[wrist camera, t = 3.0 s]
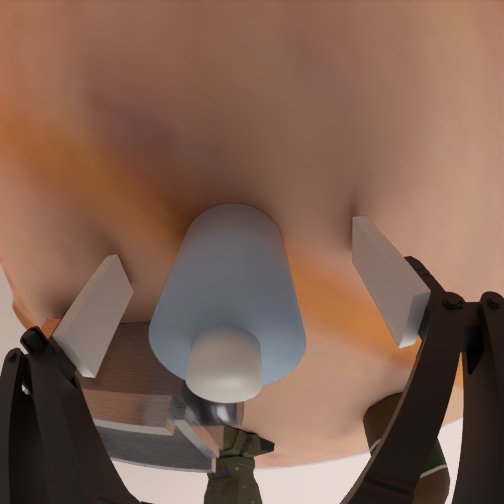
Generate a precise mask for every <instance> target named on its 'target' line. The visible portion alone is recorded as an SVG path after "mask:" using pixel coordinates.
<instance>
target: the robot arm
mask: <svg viewBox="0 0 504 504" xmlns="http://www.w3.org/2000/svg"><path fill="white" fill-rule="evenodd" d="M352 263H353V264H354V266H355V268H356V270H357V271H358V273H359V275H360V276H361V278H362V280H363V282H364V284H365V285H366V287H367V289H368V291H369V292H370V294H371V296H372V298H373V300H374V302H375V303H376V305H377V307H378V309H379V311H380V313H381V315H382V316H383V318H384V320H385V322H386V324H387V326H388V328H389V330H390V332H391V334H392V336H393V338H394V340H395V342H396V344H397V346H398V348H403V347H406V346H409V345H413V344H415V342H416V339H417V336H418V334H419V336H420V338H421V339H422V343H421V346H420V348H419V351H418V353H417V356H416V360H415V363H414V366H413V369H412V371H411V374H410V377H409V379H408V382H407V384H406V387H405V389H404V392H403V394H402V396H401V399H400V401H399V403H398V406H397V408H396V410H395V412H394V414H393V416H392V418H391V421H390V423H389V425H388V427H387V429H386V431H385V433H384V434H383V436H382V438H381V440H380V442H379V444H378V446H377V448H376V449H375V451H374V453H373V455H372V456H371V458H370V460H369V461H368V463H367V465H366V467H365V468H364V470H363V471H362V473H361V475H360V476H359V478H358V479H357V481H356V482H355V484H354V485H353V487H352V488H351V489H350V491H349V492H348V494H347V495H346V496H345V497H344V499H343V500H342V501H341V503H340V504H412V503H413V500H414V490H415V487H416V485H417V483H418V481H419V479H420V477H421V475H422V472H423V470H424V468H425V466H426V464H427V461H428V459H429V457H430V454H431V452H432V450H433V447H434V444H435V442H436V439H437V437H438V434H439V431H440V428H441V425H442V422H443V419H444V416H445V413H446V410H447V406H448V403H449V400H450V396H451V392H452V388H453V384H454V380H455V376H456V371H457V367H458V362H459V357H460V352H461V353H462V365H463V389H464V409H463V432H462V444H461V454H460V462H459V468H458V474H457V480H456V485H455V490H454V495H453V499H452V504H504V298H503V297H502V296H501V295H500V294H498V293H496V292H491V291H489V292H485V293H483V294H482V296H481V299H480V301H479V302H465V301H464V299H463V298H462V297H461V296H459V295H458V294H456V293H453V292H446V291H445V290H444V289H443V288H442V287H441V285H440V284H439V283H438V282H437V281H436V279H435V278H434V277H433V276H432V275H431V274H430V272H429V271H428V270H427V269H425V267H424V265H423V264H422V263H421V262H420V261H419V260H417V259H415V258H414V257H412V256H408V257H403V256H402V255H401V254H400V253H399V251H398V250H397V249H396V248H395V247H394V246H393V245H392V243H391V242H390V241H389V240H388V239H387V238H386V237H385V236H384V235H383V233H382V232H381V231H380V230H379V229H378V228H377V227H376V226H375V225H374V224H373V223H372V222H371V221H370V220H369V218H368V217H367V216H358V217H353V234H352ZM133 293H134V291H133V289H132V287H131V285H130V283H129V280H128V278H127V276H126V274H125V271H124V269H123V267H122V264H121V262H120V259H119V257H118V255H117V254H116V255H110V256H107V257H106V258H105V259H104V261H103V262H102V263H101V265H100V266H99V267H98V269H97V270H96V271H95V273H94V274H93V275H92V277H91V278H90V279H89V281H88V282H87V284H86V285H85V286H84V288H83V289H82V291H81V292H80V293H79V295H78V296H77V298H76V299H75V301H74V302H73V304H72V305H71V306H70V307H69V308H68V309H67V311H66V312H65V314H64V315H63V318H61V320H60V321H59V323H58V324H57V326H56V328H55V329H54V331H53V332H52V334H51V336H50V337H49V339H47V338H46V336H45V335H44V333H43V332H42V331H41V329H40V328H39V327H38V326H34V327H31V328H29V329H28V330H27V331H26V332H25V333H24V334H23V336H22V337H21V339H20V343H21V344H22V345H23V346H24V348H25V349H26V350H27V352H28V353H29V354H25V355H24V353H23V352H22V351H21V350H20V348H14V349H12V350H10V351H9V352H8V354H7V355H6V357H5V360H4V364H3V368H2V372H1V376H0V504H152V503H147V502H142V501H141V503H140V502H139V501H138V500H137V499H136V498H135V497H134V496H133V495H132V494H131V493H130V492H129V491H128V490H127V488H126V487H125V485H124V483H123V482H122V480H121V478H120V476H119V474H118V473H117V471H116V469H115V467H114V465H113V463H112V461H111V459H110V457H109V455H108V453H107V451H106V449H105V447H104V444H103V442H102V440H101V438H100V436H99V433H98V431H97V429H96V426H95V424H94V421H93V419H92V416H91V414H90V411H89V408H88V406H87V403H86V400H85V397H84V394H83V391H82V388H81V385H80V382H79V379H78V377H77V376H76V375H75V372H76V370H77V369H78V371H79V372H80V373H81V374H82V375H83V376H84V377H92V378H95V377H96V375H97V372H98V370H99V367H100V365H101V363H102V360H103V358H104V356H105V353H106V351H107V349H108V346H109V344H110V342H111V340H112V337H113V335H114V333H115V331H116V329H117V327H118V324H119V322H120V320H121V318H122V316H123V314H124V312H125V310H126V308H127V306H128V304H129V301H130V299H131V297H132V295H133ZM22 385H23V386H24V387H25V388H26V389H27V390H28V394H26V393H25V392H24V391H23V390H22Z"/></svg>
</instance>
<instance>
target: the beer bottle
mask: <svg viewBox="0 0 504 504" xmlns="http://www.w3.org/2000/svg"><path fill="white" fill-rule="evenodd" d="M402 394H403V392H401V393H398V394H394V395H391V396H388V397H387V398H385V399H383V400H382V401H380V402H378V403H377V404H375V405H373V406H372V407H370V408H369V410H368V411H367V413H366V415H365V417H364V419H363V423H364V429H365V434H366V438H367V442H368V446H369V450H370V454H371V456H372V455H373V453H374V451H375V449H376V448H377V446H378V444H379V442H380V440H381V438H382V436H383V434H384V433H385V431H386V429H387V427H388V425H389V423H390V421H391V418H392V416H393V414H394V412H395V410H396V408H397V406H398V403H399V401H400V399H401V396H402ZM449 486H450V477H449V472H448V468H447V464H446V461H445V458H444V455H443V452H442V449H441V446H440V443H439V441H438V438H437V439H436V442H435V444H434V447H433V450H432V452H431V454H430V457H429V459H428V461H427V464H426V466H425V468H424V470H423V472H422V475H421V477H420V479H419V481H418V483H417V485H416V487H415V490H414V500H413V503H412V504H445V501H446V499H447V496H448V494H449Z"/></svg>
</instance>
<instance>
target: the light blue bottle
mask: <svg viewBox="0 0 504 504" xmlns="http://www.w3.org/2000/svg"><path fill="white" fill-rule="evenodd" d="M148 335H149V342H150V345H151V348H152V350H153V352H154V354H155V356H156V357H157V358H158V360H159V361H160V362H161V363H162V364H163V365H164V366H165V367H166V368H167V369H168V370H169V371H171V372H172V373H173V374H175V375H176V376H178V377H180V378H182V379H183V380H186V384H187V386H188V388H189V389H190V390H191V391H192V392H193V393H194V394H196V395H197V396H199V397H201V398H204V399H206V400H209V401H213V402H219V403H237V402H242V401H246V400H249V399H251V398H253V397H255V396H256V395H258V394H259V393H260V391H261V390H262V387H263V386H265V385H268V384H270V383H273V382H275V381H277V380H279V379H281V378H282V377H284V376H285V375H287V374H288V373H289V372H290V371H292V370H293V369H294V368H295V366H296V365H297V364H298V363H299V361H300V360H301V358H302V356H303V354H304V350H305V347H306V337H305V331H304V327H303V322H302V318H301V313H300V309H299V305H298V300H297V296H296V292H295V287H294V283H293V279H292V275H291V271H290V267H289V262H288V258H287V254H286V250H285V246H284V242H283V238H282V235H281V233H280V230H279V229H278V227H277V225H276V224H275V223H274V221H273V220H272V219H271V218H270V217H269V216H268V215H266V214H265V213H264V212H262V211H260V210H259V209H257V208H254V207H252V206H248V205H245V204H238V203H228V204H221V205H217V206H214V207H212V208H209V209H207V210H206V211H204V212H202V213H201V214H200V215H199V216H198V217H196V218H195V219H194V221H193V222H192V223H191V225H190V226H189V228H188V230H187V232H186V235H185V237H184V239H183V242H182V244H181V246H180V249H179V251H178V253H177V256H176V258H175V260H174V263H173V265H172V268H171V270H170V273H169V275H168V278H167V280H166V283H165V285H164V288H163V290H162V293H161V295H160V298H159V301H158V303H157V306H156V308H155V311H154V314H153V316H152V319H151V322H150V326H149V334H148Z"/></svg>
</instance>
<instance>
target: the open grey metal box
mask: <svg viewBox="0 0 504 504" xmlns="http://www.w3.org/2000/svg"><path fill="white" fill-rule="evenodd" d="M60 320H61V319H47V321H46V322H45V324H44V325H43V327H42V328H41V331H42V332H43V333H44V335H45V336H46V338H47V339H49V337H50V336H51V334H52V332H53V331H54V329H55V328H56V326H57V324H58V323H59V321H60ZM149 326H150V322H144V323H128V324H118V327H117V329H116V331H115V333H114V335H113V337H112V340H111V342H110V344H109V346H108V349H107V351H106V353H105V356H104V358H103V360H102V363H101V365H100V367H99V370H98V372H97V375H96V377H95V378H92V377H84V376H83V375H82V374H81V373H80V372H79V371H78V369H77V370H76V372H75V375H76V376H77V377H78V379H79V382H80V385H81V388H82V391H83V394H84V397H85V400H86V403H87V406H88V408H89V411H90V414H91V416H92V419H93V421H94V424H95V426H96V429H97V431H98V433H99V436H100V438H101V440H102V442H103V444H104V447H105V449H106V451H107V453H108V455H109V457H110V459H111V460H114V461H118V462H123V463H128V464H133V465H138V466H144V467H151V468H158V469H166V470H175V471H186V472H201V473H215V470H216V458H219V451H223V433H224V426H237V425H241V424H242V422H243V416H244V401H242V402H237V403H219V402H213V401H209V400H206V399H204V398H201V397H199V396H197V395H196V394H194V393H193V392H192V391H191V390H190V389H189V388H188V386H187V384H186V380H183V379H182V378H180V377H178V376H176V375H175V374H173V373H172V372H171V371H169V370H168V369H167V368H166V367H165V366H164V365H163V364H162V363H161V362H160V361H159V360H158V358H157V357H156V356H155V354H154V352H153V350H152V348H151V345H150V342H149V335H148V334H149ZM24 392H25V393H26V394H28V390H27V389H26V388H25V390H24Z"/></svg>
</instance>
